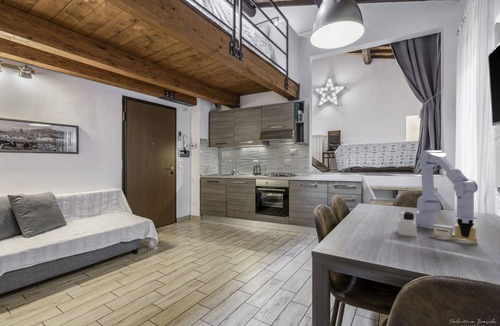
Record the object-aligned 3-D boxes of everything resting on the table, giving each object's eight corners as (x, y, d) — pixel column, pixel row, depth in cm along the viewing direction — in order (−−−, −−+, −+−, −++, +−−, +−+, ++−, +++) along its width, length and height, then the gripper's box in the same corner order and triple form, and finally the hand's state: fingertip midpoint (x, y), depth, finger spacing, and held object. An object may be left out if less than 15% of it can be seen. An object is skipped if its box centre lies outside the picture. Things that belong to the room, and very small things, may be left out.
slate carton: (433, 236, 113) (433, 225, 113) (433, 234, 116) (433, 223, 116) (452, 239, 109) (452, 228, 109) (452, 237, 112) (452, 226, 112)
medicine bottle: (413, 234, 120) (413, 211, 120) (416, 238, 114) (416, 214, 114) (397, 232, 123) (397, 210, 123) (399, 236, 117) (399, 212, 117)
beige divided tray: (431, 239, 112) (431, 234, 112) (434, 231, 126) (434, 227, 126) (477, 247, 102) (477, 242, 102) (475, 237, 115) (475, 233, 115)
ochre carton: (475, 238, 106) (475, 226, 106) (475, 240, 103) (475, 228, 103) (455, 235, 111) (455, 223, 111) (454, 237, 108) (454, 225, 108)
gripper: (478, 210, 99) (478, 241, 99) (476, 205, 110) (476, 233, 110) (456, 207, 104) (456, 238, 104) (456, 203, 115) (456, 230, 115)
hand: (465, 235), depth 107 cm, fingers closed on ochre carton, 4 cm apart
